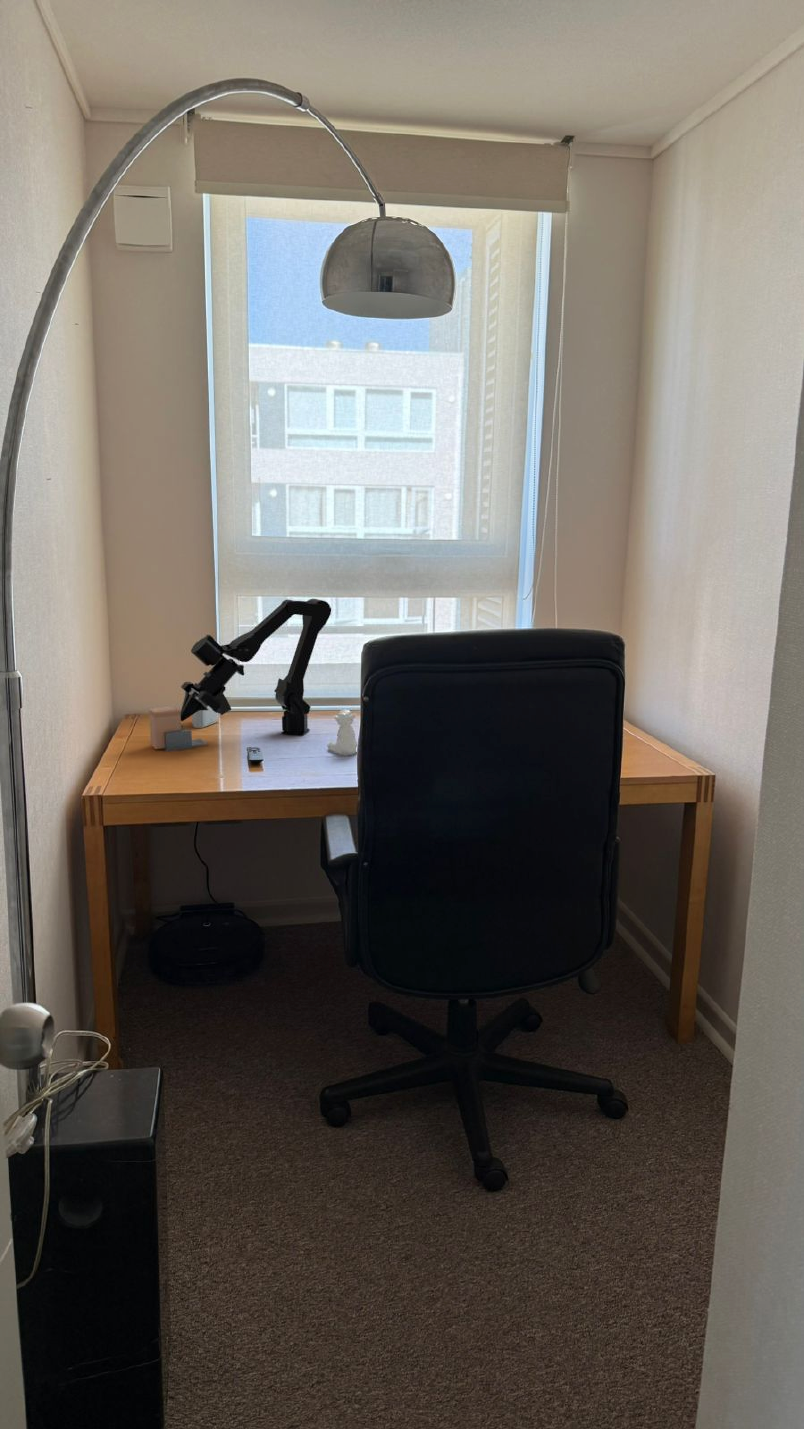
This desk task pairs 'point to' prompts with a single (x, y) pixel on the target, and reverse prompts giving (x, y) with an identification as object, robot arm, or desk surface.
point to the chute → (181, 740)
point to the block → (163, 724)
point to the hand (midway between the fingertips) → (180, 720)
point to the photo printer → (204, 718)
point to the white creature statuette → (344, 735)
